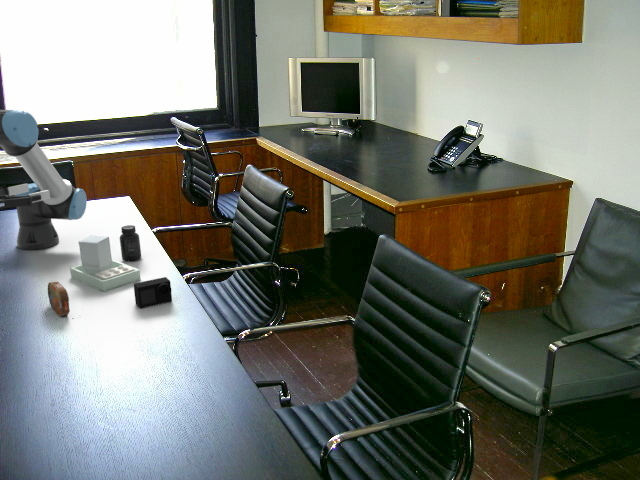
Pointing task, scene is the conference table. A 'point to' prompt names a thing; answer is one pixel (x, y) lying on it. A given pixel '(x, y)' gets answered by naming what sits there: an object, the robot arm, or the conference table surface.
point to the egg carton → (113, 272)
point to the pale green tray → (109, 283)
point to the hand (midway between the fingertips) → (38, 190)
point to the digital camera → (152, 292)
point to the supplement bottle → (130, 244)
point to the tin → (58, 298)
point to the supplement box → (95, 254)
